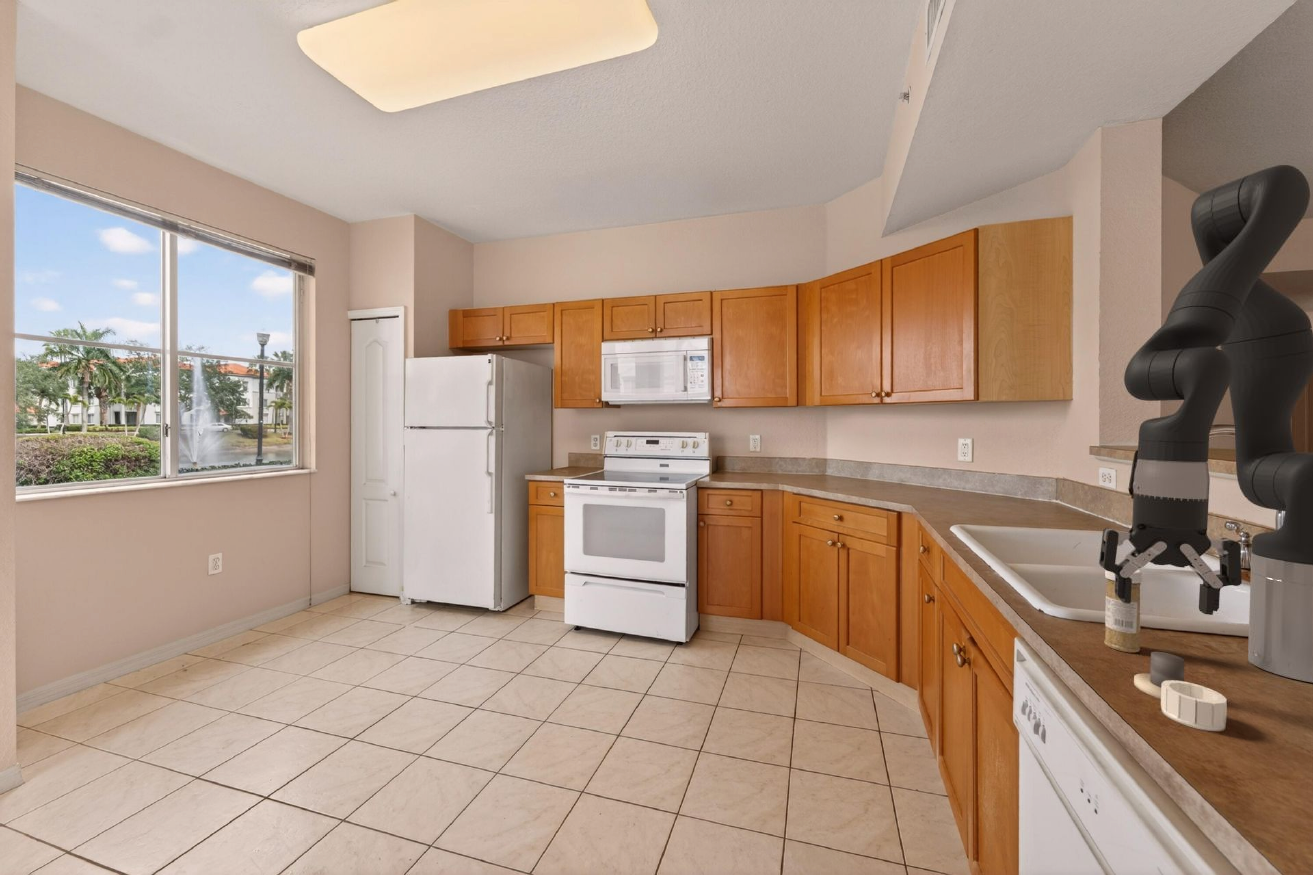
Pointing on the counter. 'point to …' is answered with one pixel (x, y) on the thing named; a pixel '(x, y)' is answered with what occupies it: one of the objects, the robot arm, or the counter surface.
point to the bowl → (1193, 705)
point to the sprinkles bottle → (1122, 615)
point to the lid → (1160, 673)
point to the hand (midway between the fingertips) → (1164, 607)
